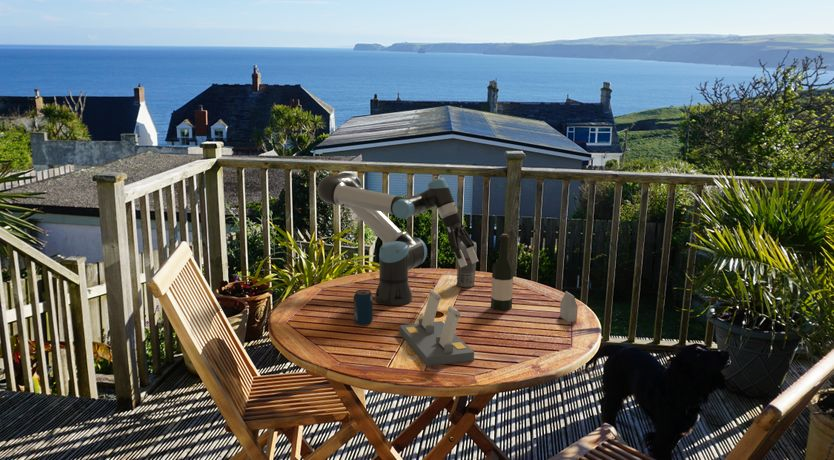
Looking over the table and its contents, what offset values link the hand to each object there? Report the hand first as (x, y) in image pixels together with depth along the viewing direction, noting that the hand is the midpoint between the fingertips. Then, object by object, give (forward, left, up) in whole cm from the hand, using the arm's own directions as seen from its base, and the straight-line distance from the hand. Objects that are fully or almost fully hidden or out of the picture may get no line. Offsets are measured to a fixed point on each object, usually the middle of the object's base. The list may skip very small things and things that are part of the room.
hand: (469, 264), depth 272 cm
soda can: (-26, -39, -17) cm, 50 cm away
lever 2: (+13, -54, -13) cm, 57 cm away
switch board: (+7, -47, -17) cm, 51 cm away
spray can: (-11, +24, -17) cm, 31 cm away
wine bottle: (+13, +3, -17) cm, 21 cm away
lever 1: (+1, -41, -13) cm, 43 cm away
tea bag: (+40, +3, -17) cm, 44 cm away
